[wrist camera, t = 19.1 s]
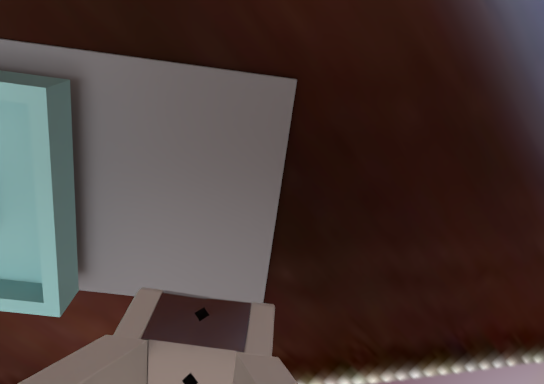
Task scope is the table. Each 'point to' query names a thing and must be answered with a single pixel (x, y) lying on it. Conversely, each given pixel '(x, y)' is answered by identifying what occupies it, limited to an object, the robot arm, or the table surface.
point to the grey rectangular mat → (169, 169)
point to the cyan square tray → (36, 195)
